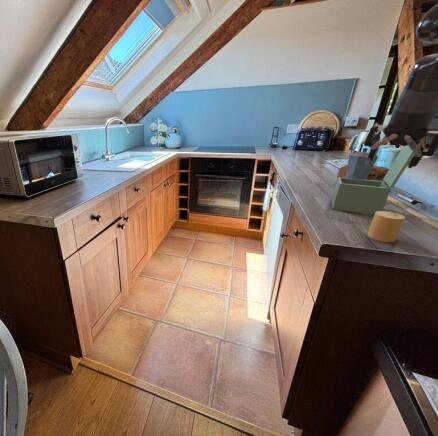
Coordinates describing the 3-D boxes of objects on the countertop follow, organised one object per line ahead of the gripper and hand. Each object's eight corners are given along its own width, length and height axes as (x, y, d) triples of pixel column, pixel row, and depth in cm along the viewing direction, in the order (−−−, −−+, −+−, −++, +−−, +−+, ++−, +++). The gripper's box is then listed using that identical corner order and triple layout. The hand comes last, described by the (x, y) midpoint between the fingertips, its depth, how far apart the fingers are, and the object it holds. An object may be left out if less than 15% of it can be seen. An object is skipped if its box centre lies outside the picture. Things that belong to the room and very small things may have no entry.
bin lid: (418, 142, 73) (421, 143, 73) (407, 139, 82) (410, 140, 82) (390, 186, 80) (393, 187, 80) (382, 179, 89) (385, 180, 89)
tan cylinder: (375, 231, 73) (383, 209, 70) (400, 240, 68) (410, 217, 65) (362, 234, 71) (370, 212, 68) (386, 244, 66) (396, 220, 63)
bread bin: (332, 209, 91) (340, 183, 87) (331, 200, 100) (338, 177, 96) (380, 216, 84) (391, 188, 80) (374, 206, 93) (383, 181, 89)
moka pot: (347, 199, 101) (362, 149, 93) (328, 189, 115) (340, 145, 107) (373, 200, 99) (390, 150, 92) (350, 189, 114) (364, 145, 106)
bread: (342, 186, 119) (348, 166, 115) (334, 181, 128) (339, 162, 124) (389, 189, 113) (397, 167, 110) (377, 183, 123) (384, 163, 119)
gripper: (465, 101, 55) (429, 162, 66) (385, 97, 65) (365, 151, 76) (454, 115, 53) (419, 176, 63) (373, 109, 63) (354, 163, 73)
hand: (390, 162), depth 70 cm, fingers open, 8 cm apart
